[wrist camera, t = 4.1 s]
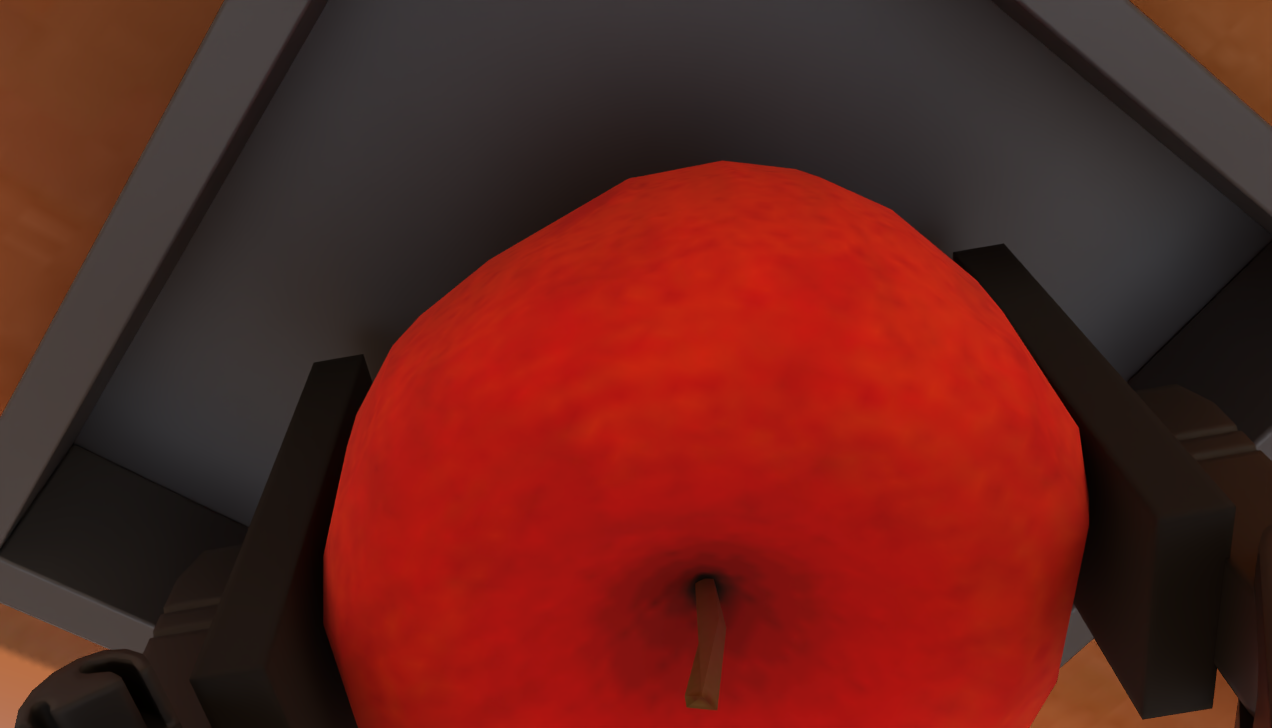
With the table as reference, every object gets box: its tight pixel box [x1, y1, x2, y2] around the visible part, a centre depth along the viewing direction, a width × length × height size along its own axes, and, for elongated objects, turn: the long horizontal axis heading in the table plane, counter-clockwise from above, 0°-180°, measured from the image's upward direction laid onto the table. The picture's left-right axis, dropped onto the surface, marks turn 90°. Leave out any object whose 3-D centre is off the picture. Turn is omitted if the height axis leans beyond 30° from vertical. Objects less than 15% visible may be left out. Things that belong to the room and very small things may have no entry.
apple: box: [323, 161, 1089, 728], centre depth 15 cm, size 9×9×8 cm
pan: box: [0, 0, 1272, 669], centre depth 17 cm, size 16×16×4 cm
